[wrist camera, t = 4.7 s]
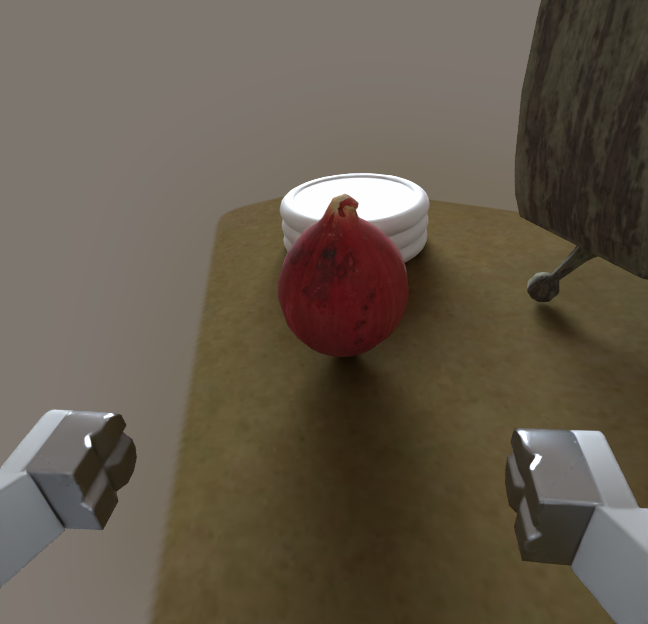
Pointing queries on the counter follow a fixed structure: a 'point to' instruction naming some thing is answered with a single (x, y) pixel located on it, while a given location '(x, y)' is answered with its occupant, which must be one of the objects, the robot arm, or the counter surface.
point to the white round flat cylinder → (362, 207)
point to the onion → (343, 283)
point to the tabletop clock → (586, 134)
